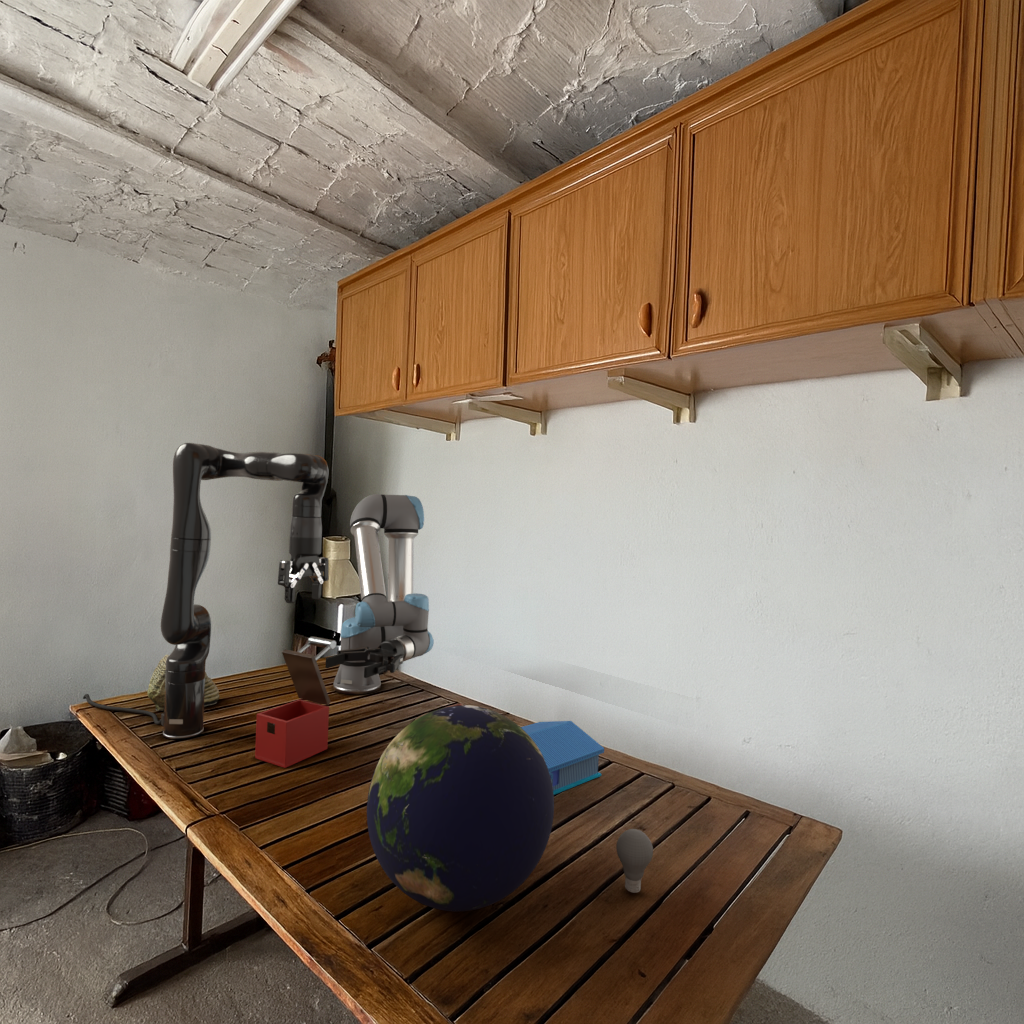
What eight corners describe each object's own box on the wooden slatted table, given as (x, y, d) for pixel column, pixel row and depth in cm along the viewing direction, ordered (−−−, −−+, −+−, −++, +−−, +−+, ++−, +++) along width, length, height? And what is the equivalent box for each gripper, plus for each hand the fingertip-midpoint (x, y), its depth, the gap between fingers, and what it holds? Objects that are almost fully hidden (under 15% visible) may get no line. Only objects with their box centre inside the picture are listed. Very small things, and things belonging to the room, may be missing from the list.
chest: (284, 768, 147) (286, 722, 147) (254, 758, 151) (256, 713, 151) (327, 748, 159) (329, 706, 159) (298, 740, 164) (300, 699, 163)
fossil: (144, 707, 182) (145, 655, 182) (212, 696, 194) (213, 647, 194) (151, 716, 175) (153, 662, 175) (221, 703, 188) (223, 653, 188)
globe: (322, 922, 94) (330, 722, 94) (423, 829, 122) (430, 674, 122) (507, 988, 83) (517, 762, 83) (572, 869, 111) (580, 699, 110)
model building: (483, 834, 121) (485, 782, 121) (412, 787, 139) (414, 742, 139) (612, 780, 148) (614, 737, 147) (538, 746, 166) (540, 708, 166)
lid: (311, 658, 152) (337, 635, 160) (281, 651, 157) (308, 630, 165) (327, 705, 158) (352, 681, 166) (298, 698, 163) (323, 675, 170)
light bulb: (610, 879, 108) (613, 822, 108) (644, 879, 109) (647, 822, 109) (619, 902, 102) (622, 840, 102) (655, 901, 103) (658, 840, 103)
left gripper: (294, 537, 148) (292, 606, 148) (337, 535, 160) (335, 599, 161) (271, 535, 151) (269, 602, 151) (315, 533, 164) (313, 596, 164)
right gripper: (429, 671, 183) (381, 691, 164) (362, 656, 195) (310, 672, 176) (430, 645, 183) (382, 662, 164) (363, 631, 194) (311, 646, 175)
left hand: (303, 600), depth 156 cm, fingers open, 8 cm apart
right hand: (345, 667), depth 170 cm, fingers open, 13 cm apart
